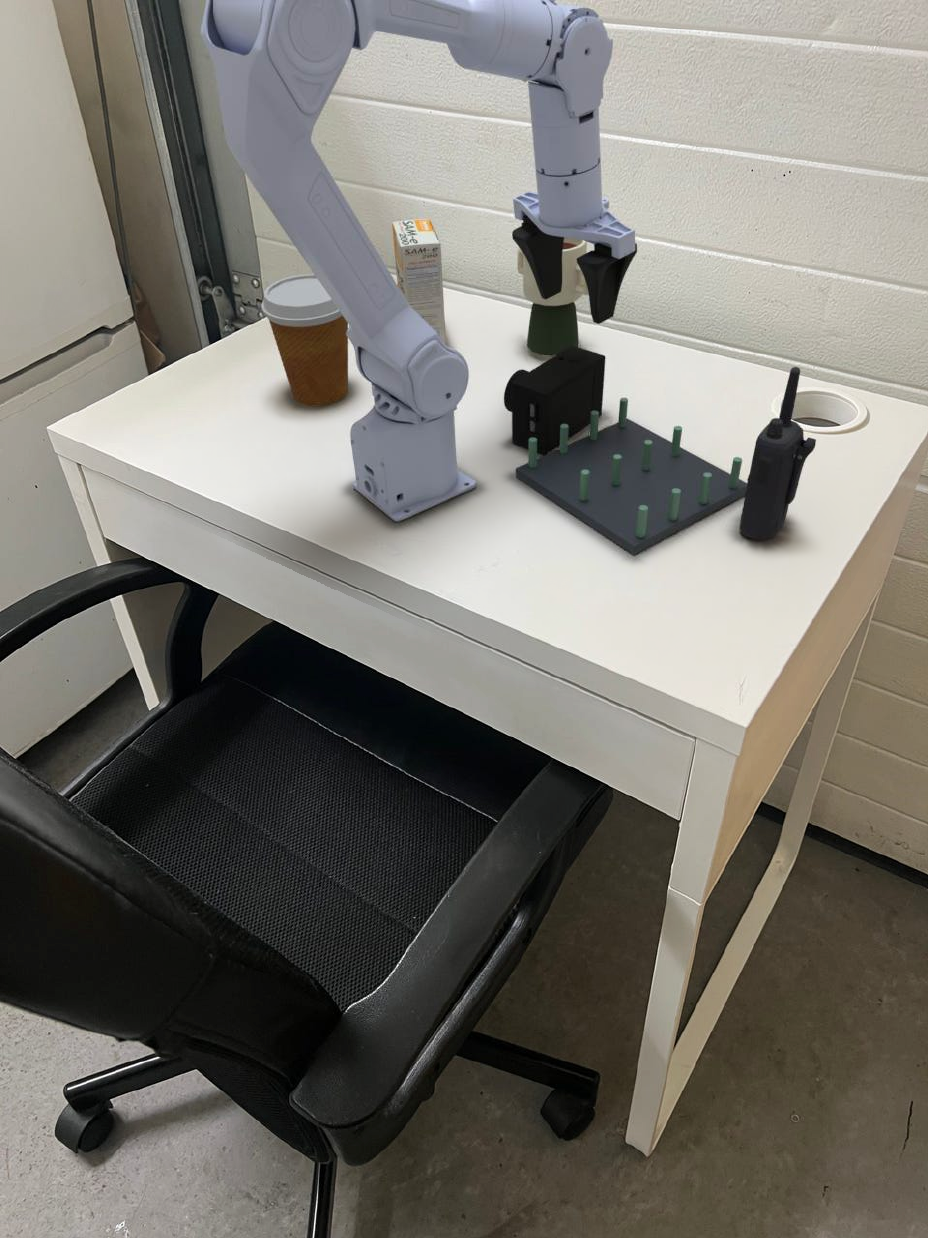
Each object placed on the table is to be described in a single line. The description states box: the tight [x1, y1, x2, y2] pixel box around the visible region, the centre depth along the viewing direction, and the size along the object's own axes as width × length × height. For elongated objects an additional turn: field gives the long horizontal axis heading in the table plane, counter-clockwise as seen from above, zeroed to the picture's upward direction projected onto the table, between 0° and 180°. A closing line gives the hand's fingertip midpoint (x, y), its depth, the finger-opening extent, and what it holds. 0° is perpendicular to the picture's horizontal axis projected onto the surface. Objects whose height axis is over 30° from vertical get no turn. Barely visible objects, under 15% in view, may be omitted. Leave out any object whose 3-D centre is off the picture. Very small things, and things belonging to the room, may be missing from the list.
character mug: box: [517, 237, 589, 357], centre depth 108 cm, size 11×7×13 cm, turn 46°
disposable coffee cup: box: [260, 273, 349, 407], centre depth 102 cm, size 10×10×12 cm
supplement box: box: [391, 217, 447, 346], centre depth 112 cm, size 8×5×13 cm, turn 10°
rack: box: [515, 397, 748, 556], centre depth 89 cm, size 15×16×4 cm
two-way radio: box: [739, 366, 817, 540], centre depth 79 cm, size 6×4×15 cm
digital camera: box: [503, 346, 606, 456], centre depth 96 cm, size 10×5×7 cm, turn 140°
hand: (576, 306), depth 91 cm, fingers open, 7 cm apart
